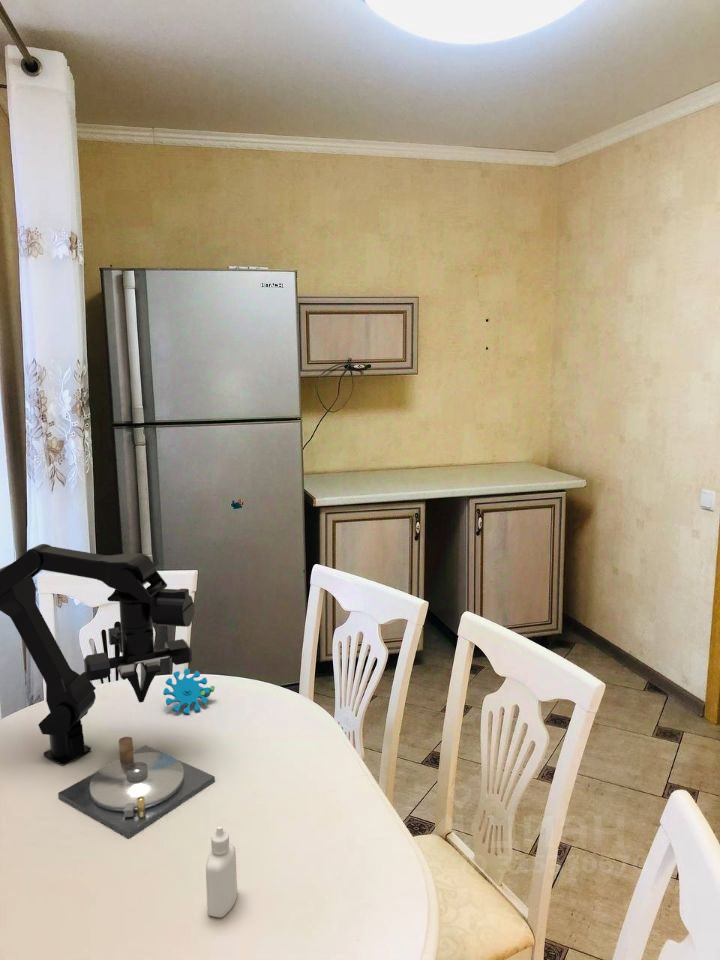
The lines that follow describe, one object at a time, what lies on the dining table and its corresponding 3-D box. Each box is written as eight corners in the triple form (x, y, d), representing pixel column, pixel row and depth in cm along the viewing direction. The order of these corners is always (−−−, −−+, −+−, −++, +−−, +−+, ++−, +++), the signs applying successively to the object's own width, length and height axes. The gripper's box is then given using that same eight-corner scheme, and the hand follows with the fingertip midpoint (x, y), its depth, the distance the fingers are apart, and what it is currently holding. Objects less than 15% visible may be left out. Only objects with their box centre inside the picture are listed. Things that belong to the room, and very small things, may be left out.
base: (58, 798, 127) (56, 777, 126) (145, 749, 142) (144, 730, 141) (128, 838, 116) (127, 816, 115) (214, 781, 132) (214, 761, 131)
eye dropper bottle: (197, 906, 102) (193, 830, 100) (229, 885, 106) (226, 811, 104) (215, 923, 99) (212, 844, 97) (248, 900, 103) (245, 824, 101)
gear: (163, 712, 153) (164, 667, 159) (160, 721, 158) (161, 677, 164) (215, 711, 157) (215, 667, 163) (211, 720, 161) (211, 677, 167)
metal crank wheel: (93, 826, 117) (91, 796, 116) (87, 769, 133) (85, 743, 132) (193, 801, 124) (191, 773, 123) (175, 750, 139) (174, 725, 138)
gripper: (177, 602, 145) (180, 675, 148) (78, 616, 137) (83, 693, 140) (191, 620, 135) (194, 698, 138) (85, 637, 127) (90, 719, 130)
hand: (140, 701), depth 137 cm, fingers closed
